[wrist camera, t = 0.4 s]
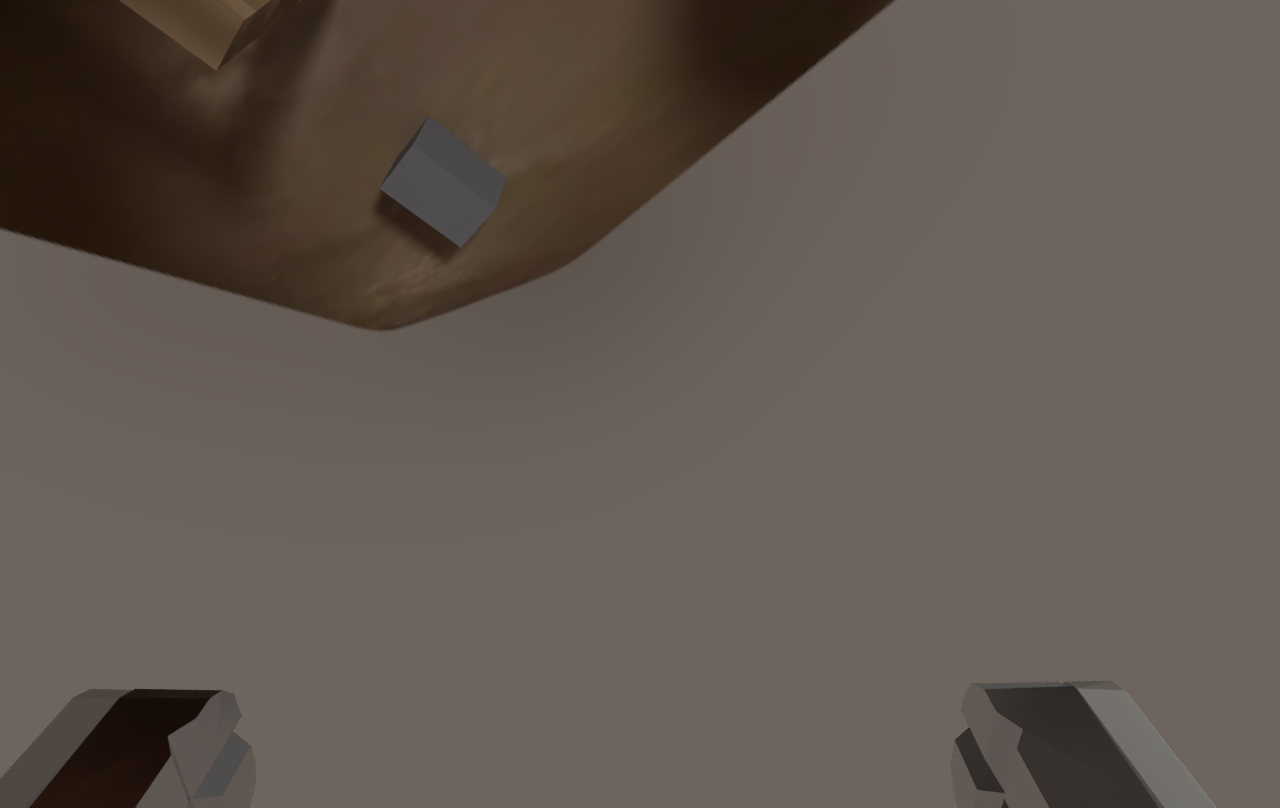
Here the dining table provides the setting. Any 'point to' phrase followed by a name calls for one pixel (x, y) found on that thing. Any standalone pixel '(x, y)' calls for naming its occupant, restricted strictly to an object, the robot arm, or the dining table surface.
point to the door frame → (212, 23)
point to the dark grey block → (444, 183)
